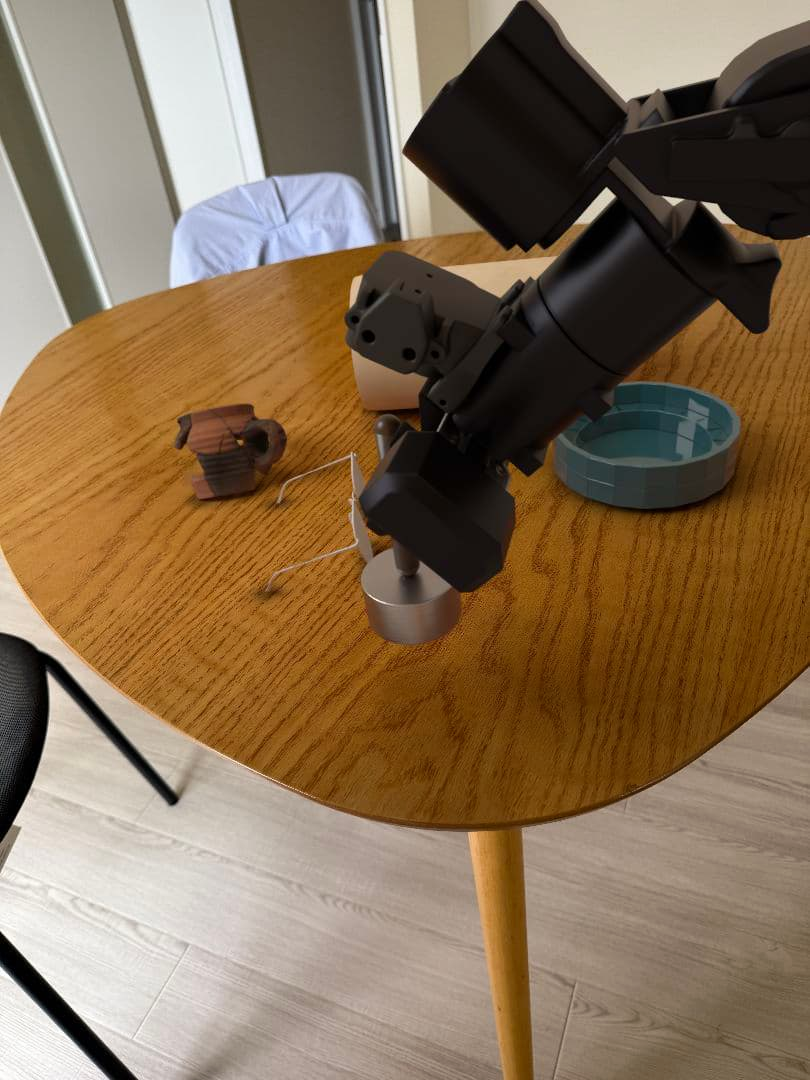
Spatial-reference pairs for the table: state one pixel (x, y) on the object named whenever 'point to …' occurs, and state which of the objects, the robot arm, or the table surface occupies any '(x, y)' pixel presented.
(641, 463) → the bowl
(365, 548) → the sunglasses
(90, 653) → the table surface
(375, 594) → the silver joystick
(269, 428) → the pottery mug
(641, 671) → the table surface
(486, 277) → the candle
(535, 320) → the robot arm
